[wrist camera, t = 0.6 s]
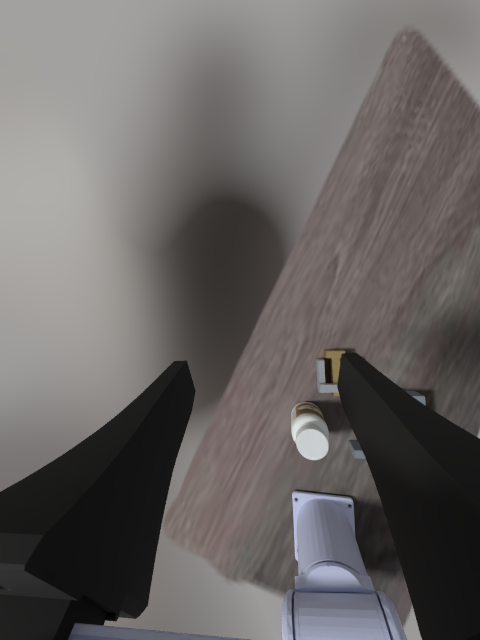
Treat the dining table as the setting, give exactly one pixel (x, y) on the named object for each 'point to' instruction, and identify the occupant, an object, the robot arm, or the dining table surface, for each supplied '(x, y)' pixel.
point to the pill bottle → (309, 431)
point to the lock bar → (334, 364)
